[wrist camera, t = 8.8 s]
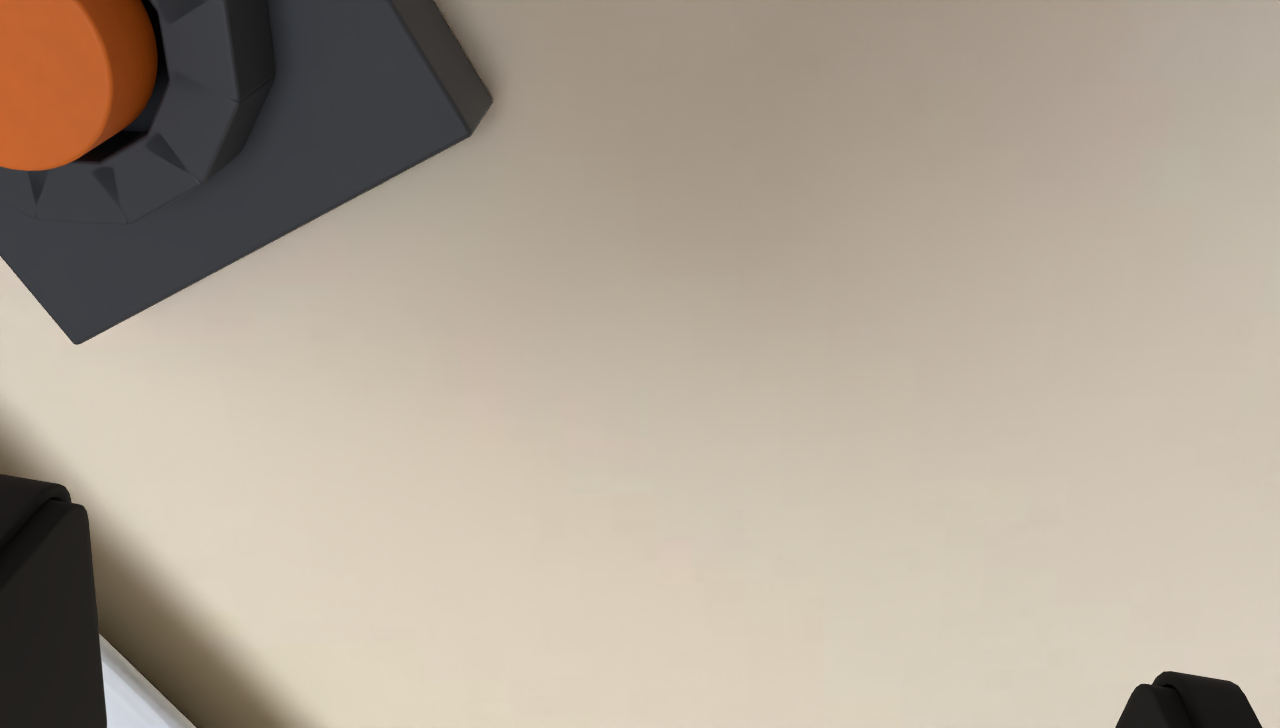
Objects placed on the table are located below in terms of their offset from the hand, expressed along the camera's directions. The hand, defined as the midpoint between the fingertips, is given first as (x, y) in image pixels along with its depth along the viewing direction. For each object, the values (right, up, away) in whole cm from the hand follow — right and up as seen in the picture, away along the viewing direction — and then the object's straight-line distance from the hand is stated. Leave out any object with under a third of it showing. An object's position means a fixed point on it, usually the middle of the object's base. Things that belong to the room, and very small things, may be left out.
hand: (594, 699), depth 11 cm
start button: (-9, +9, +9) cm, 16 cm away
